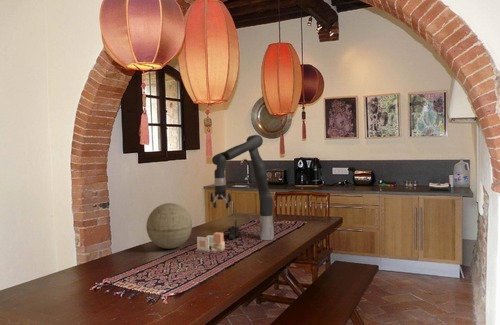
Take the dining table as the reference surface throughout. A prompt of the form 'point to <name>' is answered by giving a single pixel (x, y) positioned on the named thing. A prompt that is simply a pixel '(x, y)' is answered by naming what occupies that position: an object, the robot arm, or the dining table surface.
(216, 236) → the terracotta block
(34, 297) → the dining table surface
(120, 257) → the dining table surface
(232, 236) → the helicopter
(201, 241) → the board
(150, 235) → the celestial globe
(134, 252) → the dining table surface
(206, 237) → the sage block
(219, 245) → the beech base block
